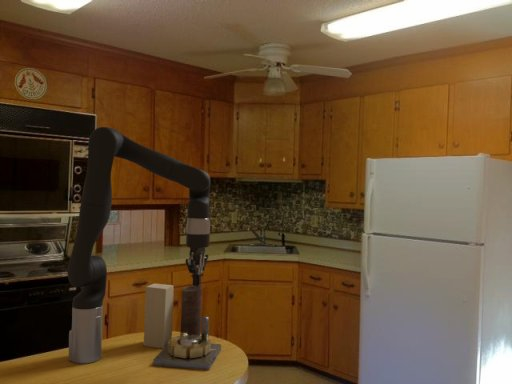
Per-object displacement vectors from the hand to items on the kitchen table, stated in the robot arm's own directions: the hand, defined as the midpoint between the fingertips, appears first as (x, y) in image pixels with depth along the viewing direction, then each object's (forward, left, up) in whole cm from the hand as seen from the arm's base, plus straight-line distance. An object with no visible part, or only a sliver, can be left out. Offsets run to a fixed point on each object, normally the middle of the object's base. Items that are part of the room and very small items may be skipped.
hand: (196, 285), depth 151 cm
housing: (-3, +4, -25) cm, 25 cm away
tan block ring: (-3, +4, -23) cm, 23 cm away
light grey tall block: (-17, +14, -25) cm, 33 cm away
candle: (-7, +20, -25) cm, 33 cm away
